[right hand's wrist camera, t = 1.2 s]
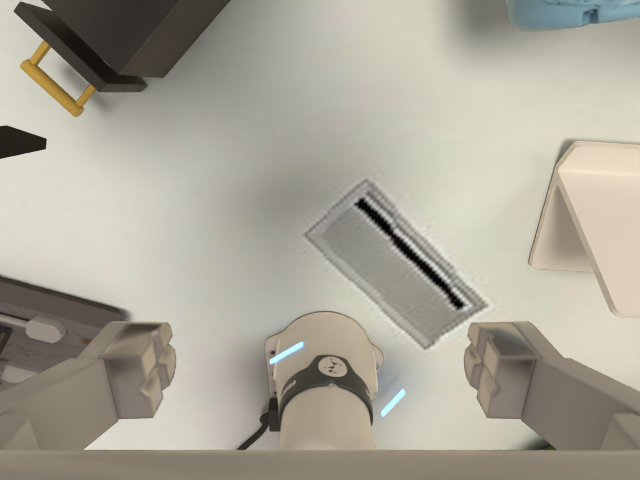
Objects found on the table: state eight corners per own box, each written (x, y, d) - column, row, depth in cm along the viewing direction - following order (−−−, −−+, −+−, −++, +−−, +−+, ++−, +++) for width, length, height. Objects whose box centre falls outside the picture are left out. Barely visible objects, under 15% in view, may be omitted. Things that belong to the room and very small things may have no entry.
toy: (133, 311, 59) (75, 380, 45) (115, 408, 66) (59, 494, 52) (-44, 262, 56) (-165, 320, 42) (-44, 369, 63) (-148, 449, 49)
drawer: (114, 123, 48) (68, 130, 39) (48, 61, 46) (-17, 54, 37) (254, -42, 42) (237, -77, 33) (187, -124, 39) (148, -186, 31)
